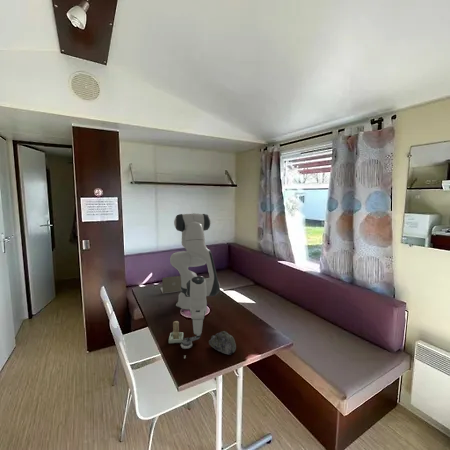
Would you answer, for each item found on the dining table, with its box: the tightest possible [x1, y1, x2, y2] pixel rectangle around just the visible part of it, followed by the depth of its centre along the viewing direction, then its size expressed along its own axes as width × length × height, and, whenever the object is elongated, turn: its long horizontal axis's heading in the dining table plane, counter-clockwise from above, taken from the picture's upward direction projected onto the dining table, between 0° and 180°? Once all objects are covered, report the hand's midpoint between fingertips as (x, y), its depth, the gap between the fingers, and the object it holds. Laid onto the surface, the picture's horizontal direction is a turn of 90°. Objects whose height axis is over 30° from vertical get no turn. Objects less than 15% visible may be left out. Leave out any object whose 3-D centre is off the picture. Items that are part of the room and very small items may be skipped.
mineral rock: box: [208, 330, 237, 356], centre depth 129 cm, size 13×11×10 cm
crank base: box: [180, 341, 193, 359], centre depth 129 cm, size 14×6×1 cm, turn 4°
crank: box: [182, 333, 202, 346], centre depth 134 cm, size 10×4×6 cm, turn 124°
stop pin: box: [172, 320, 180, 339], centre depth 137 cm, size 3×3×9 cm
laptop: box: [159, 275, 181, 295], centre depth 211 cm, size 18×12×13 cm
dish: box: [168, 331, 184, 344], centre depth 138 cm, size 7×7×2 cm
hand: (198, 333), depth 136 cm, fingers closed on crank, 2 cm apart
